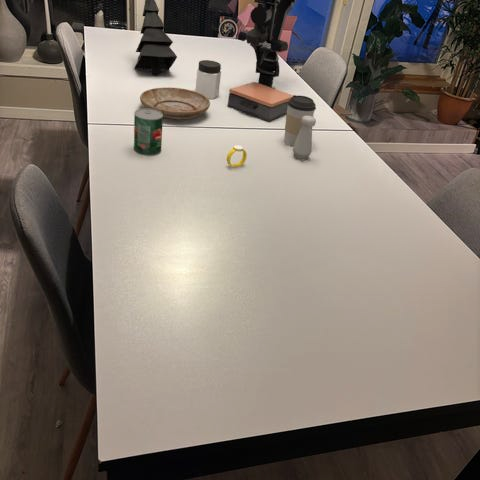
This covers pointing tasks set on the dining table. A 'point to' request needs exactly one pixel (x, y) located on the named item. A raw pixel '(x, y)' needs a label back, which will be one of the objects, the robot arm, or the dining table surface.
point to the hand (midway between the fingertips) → (259, 64)
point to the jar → (208, 78)
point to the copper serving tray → (261, 94)
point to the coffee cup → (297, 116)
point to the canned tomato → (148, 132)
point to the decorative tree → (154, 42)
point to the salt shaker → (304, 138)
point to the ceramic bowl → (175, 102)
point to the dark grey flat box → (257, 108)
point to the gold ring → (235, 148)
